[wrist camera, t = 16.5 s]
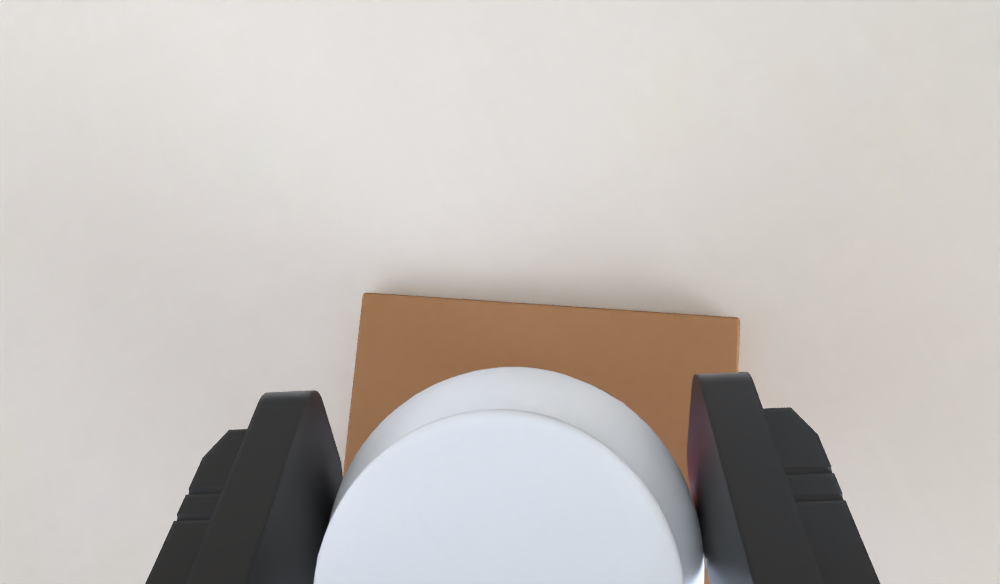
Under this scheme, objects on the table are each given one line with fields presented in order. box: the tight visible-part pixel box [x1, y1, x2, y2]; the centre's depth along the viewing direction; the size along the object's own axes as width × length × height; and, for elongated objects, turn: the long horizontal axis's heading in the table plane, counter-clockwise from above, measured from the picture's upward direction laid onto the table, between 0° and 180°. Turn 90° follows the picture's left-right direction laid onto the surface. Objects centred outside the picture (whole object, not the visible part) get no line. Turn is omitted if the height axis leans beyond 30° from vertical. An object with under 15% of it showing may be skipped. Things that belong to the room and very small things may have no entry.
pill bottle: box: [314, 367, 704, 584], centre depth 13 cm, size 5×5×10 cm
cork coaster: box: [343, 293, 740, 584], centre depth 18 cm, size 9×9×1 cm
